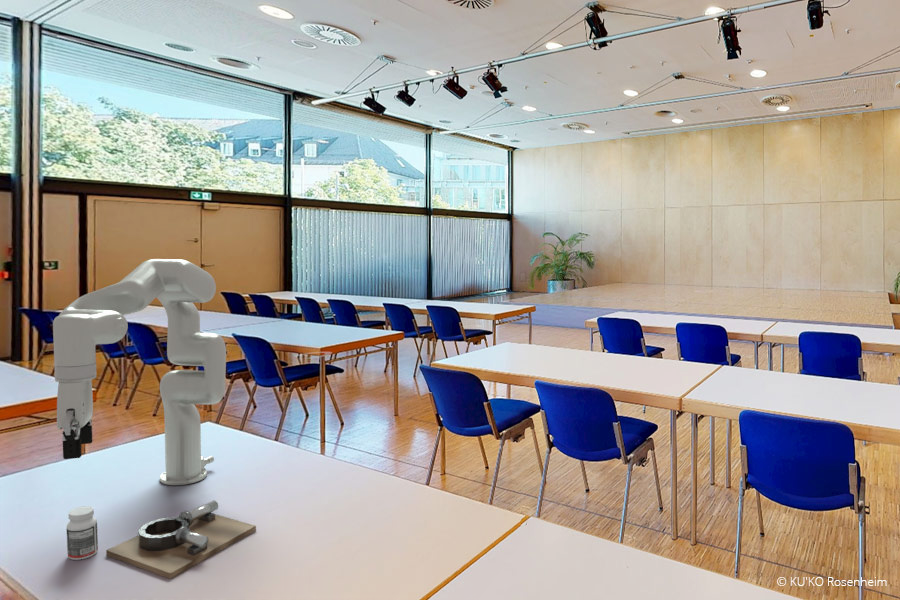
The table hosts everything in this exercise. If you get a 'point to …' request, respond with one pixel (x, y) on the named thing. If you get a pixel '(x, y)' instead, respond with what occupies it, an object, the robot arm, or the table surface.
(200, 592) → the table surface
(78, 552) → the pill bottle
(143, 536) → the stand
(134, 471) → the table surface
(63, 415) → the robot arm
